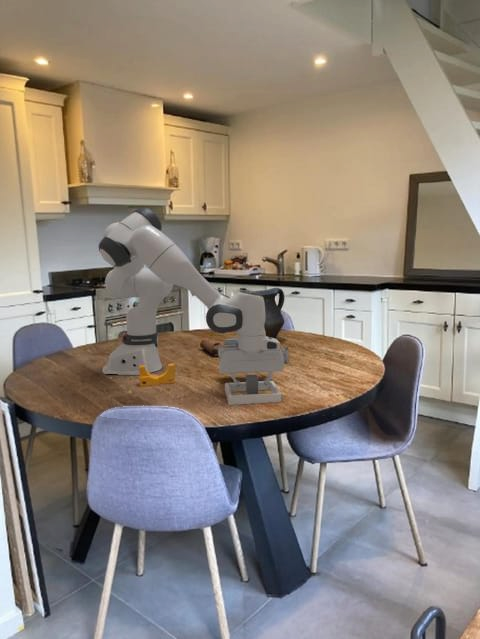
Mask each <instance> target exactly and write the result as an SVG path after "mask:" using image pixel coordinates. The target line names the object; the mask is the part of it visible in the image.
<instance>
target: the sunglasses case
mask: <svg viewBox="0 0 480 639" xmlns="http://www.w3.org/2000/svg"><path fill="white" fill-rule="evenodd" d="M221 345H223V343H221V342H220V341H217V340H212V339H211V340H210V339H202V340H201V341H200V344H199V346H200V348H201V349H203V350H205V351H207V352H208V353H210V354H211V355H212V356H214V357H219V356H218V348H219V347H220V346H221ZM222 347H223V346H222Z"/></svg>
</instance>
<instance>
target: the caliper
mask: <svg viewBox="0 0 480 639" xmlns="http://www.w3.org/2000/svg"><path fill="white" fill-rule="evenodd" d="M280 350H281V351H282V353H283V358H284V363H286V364H288V363H289V362H290V352H289V347H288V346H284V348H280Z"/></svg>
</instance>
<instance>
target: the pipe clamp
mask: <svg viewBox="0 0 480 639" xmlns="http://www.w3.org/2000/svg"><path fill="white" fill-rule="evenodd" d="M167 365H168V367H167V370H166V371H165V372H164V373H162V374H159V375H153V374H151V372H150V373H148V372H147V370H146V368H145V365H140V366H139V373H140V375H139V387H140V386H141V387H151V386H150V385H155V386H160V384H161V385H162V384H175V383H176V375H175V374H176V373H175V372H176V370H175V368H176V367H175V363H168V364H167Z"/></svg>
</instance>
